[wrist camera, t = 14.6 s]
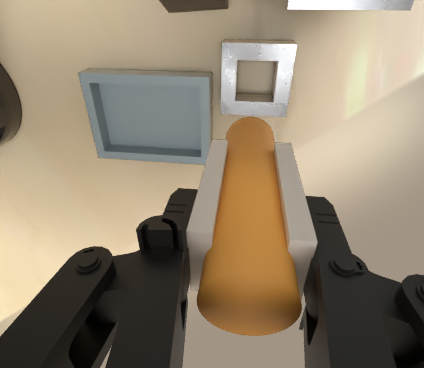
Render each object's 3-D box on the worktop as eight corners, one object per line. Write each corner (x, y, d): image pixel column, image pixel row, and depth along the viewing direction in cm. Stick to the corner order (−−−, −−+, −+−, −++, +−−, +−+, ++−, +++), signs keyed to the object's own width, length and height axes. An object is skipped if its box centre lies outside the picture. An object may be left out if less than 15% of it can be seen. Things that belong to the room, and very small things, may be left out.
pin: (225, 159, 18) (198, 330, 9) (226, 116, 16) (195, 267, 7) (270, 161, 17) (293, 340, 8) (276, 117, 16) (310, 277, 7)
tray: (107, 149, 38) (98, 157, 36) (89, 68, 33) (78, 72, 31) (211, 155, 37) (209, 165, 35) (212, 72, 31) (209, 77, 29)
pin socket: (223, 105, 33) (220, 114, 31) (224, 39, 29) (222, 42, 27) (283, 108, 32) (286, 117, 30) (293, 40, 29) (297, 44, 26)
